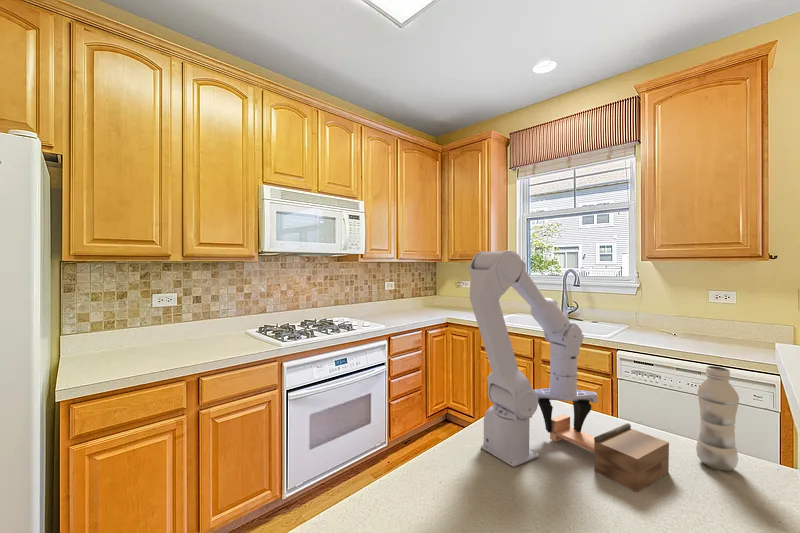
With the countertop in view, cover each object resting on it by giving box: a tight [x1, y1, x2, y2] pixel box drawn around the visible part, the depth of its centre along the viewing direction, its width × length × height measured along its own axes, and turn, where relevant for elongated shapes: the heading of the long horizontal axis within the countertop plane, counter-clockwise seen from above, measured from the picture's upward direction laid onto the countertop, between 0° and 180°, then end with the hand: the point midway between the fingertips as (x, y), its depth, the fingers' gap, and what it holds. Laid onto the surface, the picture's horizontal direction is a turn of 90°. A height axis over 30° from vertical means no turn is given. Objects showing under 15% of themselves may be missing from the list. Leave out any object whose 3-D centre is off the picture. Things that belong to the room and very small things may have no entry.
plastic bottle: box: [695, 365, 740, 472], centre depth 75 cm, size 6×7×20 cm
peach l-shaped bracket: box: [549, 414, 595, 453], centre depth 82 cm, size 14×5×5 cm, turn 32°
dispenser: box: [593, 422, 670, 493], centre depth 73 cm, size 8×12×7 cm
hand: (562, 431), depth 86 cm, fingers closed on peach l-shaped bracket, 6 cm apart
